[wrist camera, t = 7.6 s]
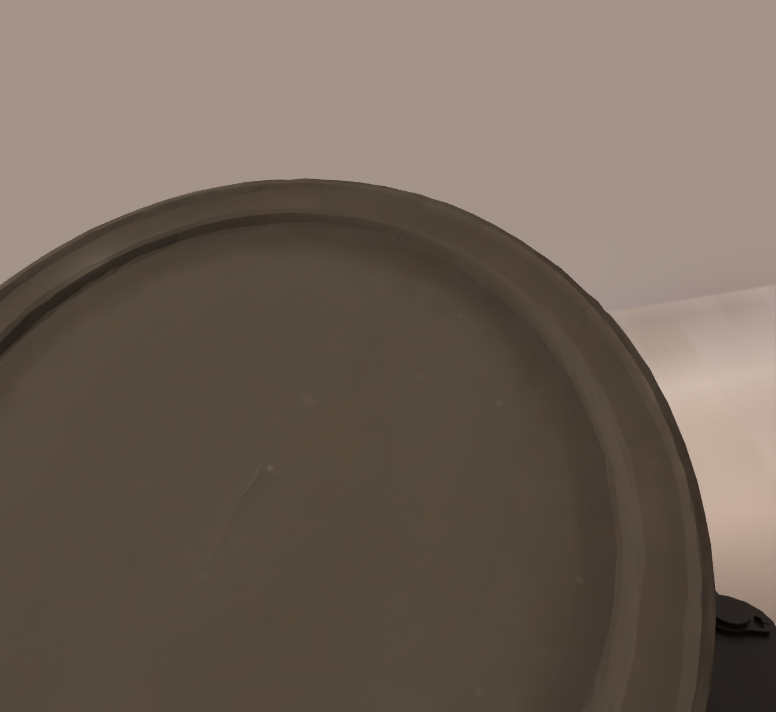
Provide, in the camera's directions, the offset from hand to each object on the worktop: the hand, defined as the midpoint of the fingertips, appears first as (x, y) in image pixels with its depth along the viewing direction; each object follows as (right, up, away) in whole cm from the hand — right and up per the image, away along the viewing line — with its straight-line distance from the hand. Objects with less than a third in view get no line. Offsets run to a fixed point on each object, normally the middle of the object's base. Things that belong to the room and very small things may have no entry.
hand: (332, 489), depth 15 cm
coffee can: (0, -5, +3) cm, 6 cm away
